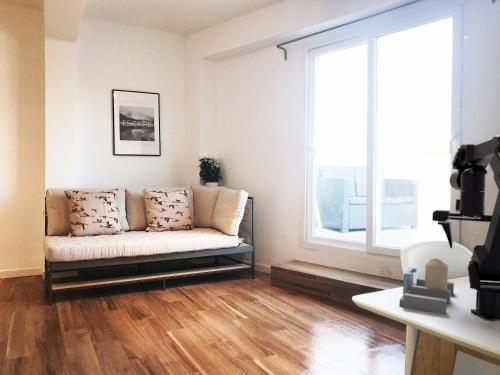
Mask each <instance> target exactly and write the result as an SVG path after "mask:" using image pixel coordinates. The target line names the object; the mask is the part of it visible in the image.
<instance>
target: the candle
mask: <svg viewBox="0 0 500 375" xmlns="http://www.w3.org/2000/svg"><path fill="white" fill-rule="evenodd" d="M424 272H425V274H424V275H425V276H424V277H425V278H424V279H425V287H430V288H438V289H445V290H447V282H448V278H449V277H448V275H449V274H448V273H449V265H448V264H447V263H446V262H444V260H441V259H439V258H431V259H430V260H428V261H427V262H426V263H425V271H424Z"/></svg>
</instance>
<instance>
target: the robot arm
mask: <svg viewBox="0 0 500 375" xmlns="http://www.w3.org/2000/svg"><path fill="white" fill-rule="evenodd" d="M451 164H452V170H456V171H454V172H453V173H451V174H450V177H449V180H448V181H449V184H450V186H451V187H452V188H453V189H454V190H456V191H460V196H459V197H460V198H459V199H458V198H456V200H455V213H454V212H451V210H448V209H436V210H434V211H433V212H432V217H431V218H432V220H431V221H432V222H437V225H438V226H439V225H440V226H441V227H442V230H443V231H444V233H445V235H446V239H447V241H448V244H449V249H453V243H454V242H453V234H452V232H453V231H452V221H466V222H467V221H468V222H480V223H481V222H483V223H489V226H488V229H487V233H486V237H485V241H484V244H483V245H479V244H476V245H475V246H474V247H473V250H472V255H471V257H470V260H469V262H468V265H467V273H468V283H469V288H470V289H472V290H475V291H476V293H475V294H476V296H475V298H476V299H475V308H471V309H470V312H471V313H473V314H475V315H477V316H479V317H481V318H484V319H486V320H489V321H500V135H496V136H493V137H492V138H490V139H487V140H485V141H483V142H480V143H462V144H461V145H460V146H459V148H457V151H456V152H455V155H454V157H453V160H452V163H451ZM488 166H490V168H491V170H492V173H493V180H494V182H495V185H496V187H497V188H498V191H497V196H496V200H495V203H494V207H493V210H492V213H491V214H490V215H489V214H485V209H486V208H485V207H486V206H485V202H486V201H485V200H486V199H485V196H486V193H485V192H486V176H487V174H488V170H487V167H488ZM456 212H457V213H456ZM451 220H452V221H451Z"/></svg>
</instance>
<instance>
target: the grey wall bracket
mask: <svg viewBox="0 0 500 375" xmlns="http://www.w3.org/2000/svg"><path fill="white" fill-rule="evenodd" d="M417 270H418V269H417V267H412V266H411V267H409V268H408V269H407V270H405V272H404V273H403V283H402V284H403V285H402V287H403V288H402V296H401V297H400V298H399V306H400V307H402V308H406V309H413V310H417V311H418V310H419V311H424V312H430V313H436V314H444V315H446V313H447V304H450V303H451V296H452V295H454V292H455V291H454V290H455V282H451V281H447V290H445V289H438V288H430V287H425V278H422V277H417V278H416V283H414V280H415V279H414V274H415V273H417V272H418V271H417ZM450 294H451V295H450Z"/></svg>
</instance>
